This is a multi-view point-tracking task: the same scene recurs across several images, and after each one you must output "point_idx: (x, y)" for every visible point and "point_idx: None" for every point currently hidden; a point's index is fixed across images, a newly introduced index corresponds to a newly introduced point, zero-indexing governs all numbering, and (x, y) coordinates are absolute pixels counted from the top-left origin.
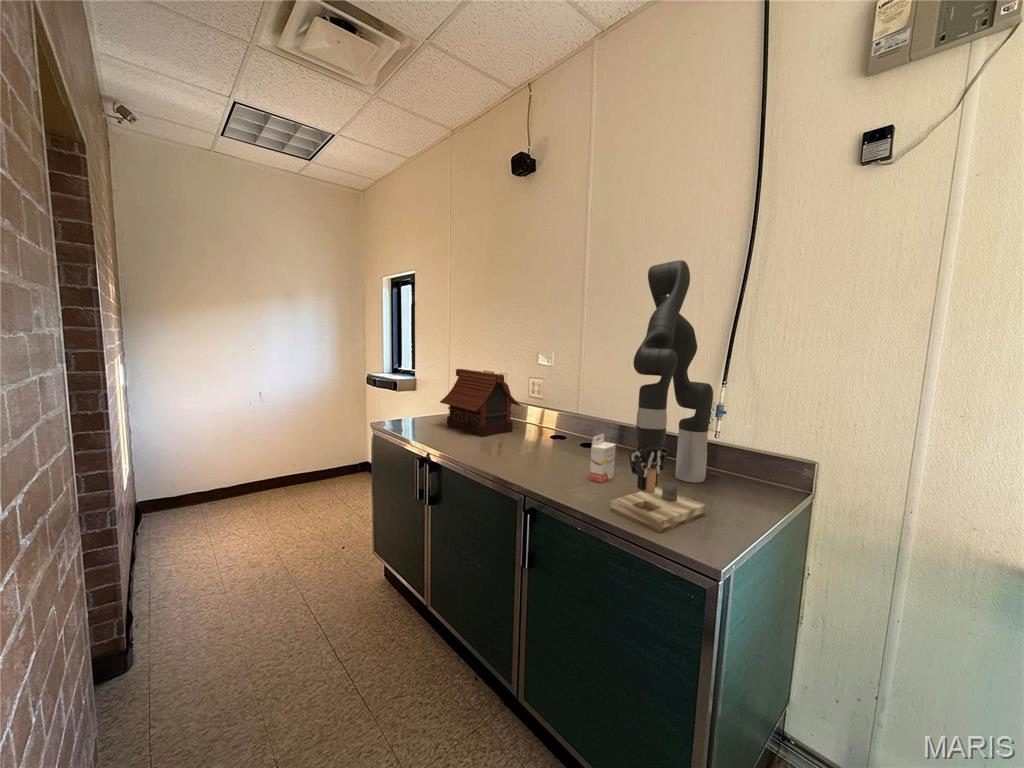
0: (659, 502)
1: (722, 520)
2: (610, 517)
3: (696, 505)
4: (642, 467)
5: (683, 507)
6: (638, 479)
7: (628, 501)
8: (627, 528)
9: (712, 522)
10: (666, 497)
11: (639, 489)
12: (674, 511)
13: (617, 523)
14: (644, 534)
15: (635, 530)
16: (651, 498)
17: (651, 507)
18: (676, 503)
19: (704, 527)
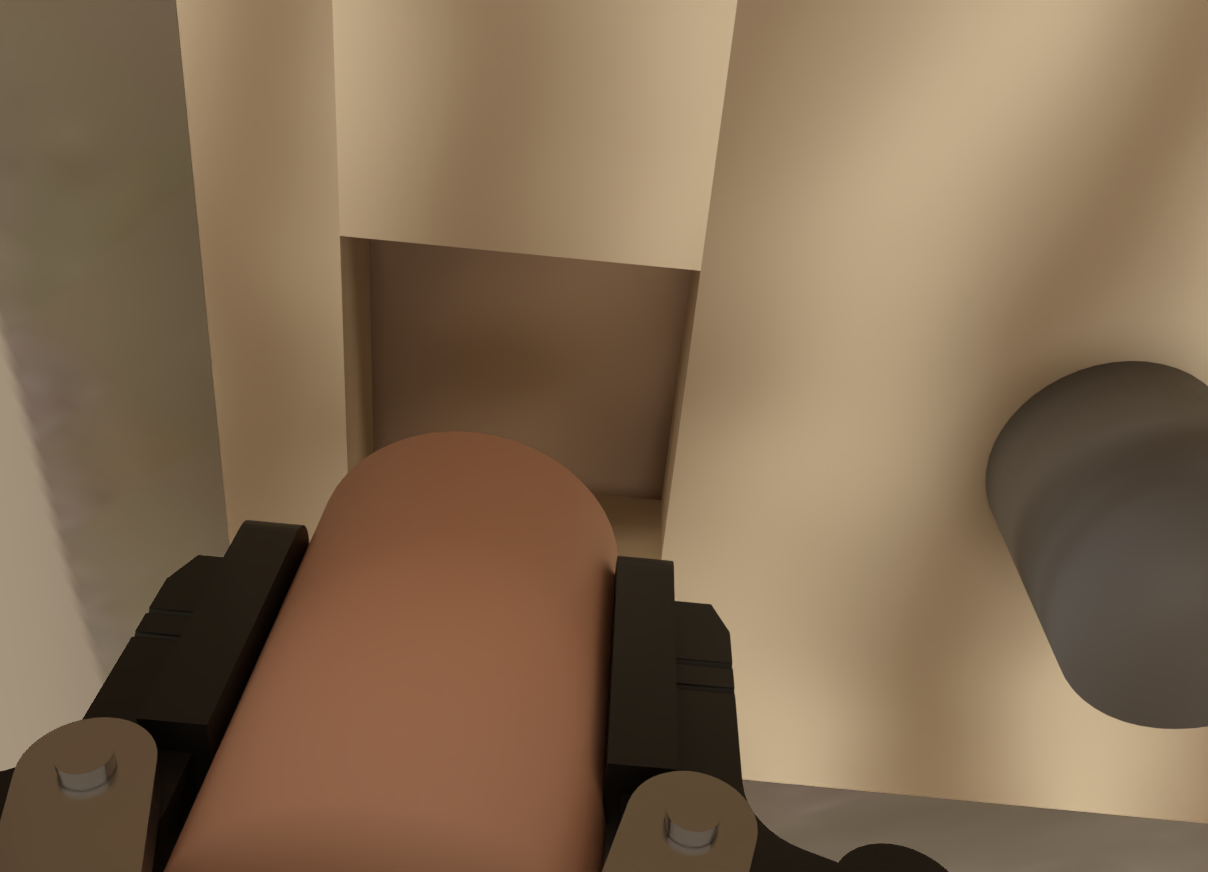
0: (826, 450)
1: (1147, 853)
2: (53, 13)
3: (1106, 776)
4: (301, 848)
5: (905, 712)
6: (113, 698)
7: (425, 110)
8: (40, 368)
9: (1014, 818)
10: (999, 506)
11: (338, 486)
12: None
13: (15, 206)
14: (117, 555)
15: (94, 451)
16: (892, 289)
17: (680, 372)
18: (981, 609)
19: (819, 815)
